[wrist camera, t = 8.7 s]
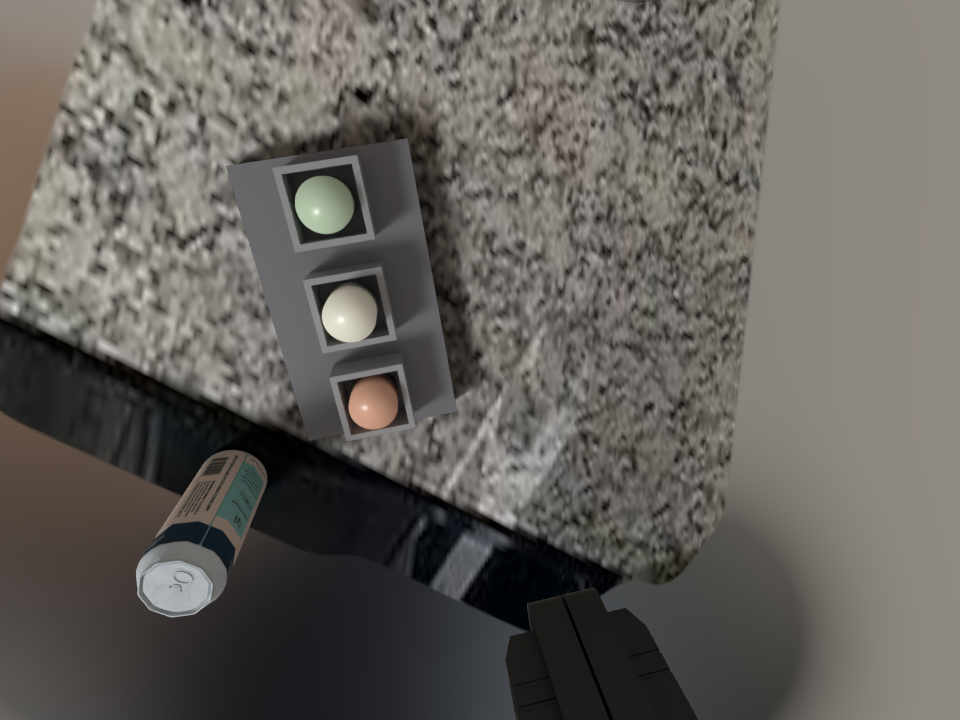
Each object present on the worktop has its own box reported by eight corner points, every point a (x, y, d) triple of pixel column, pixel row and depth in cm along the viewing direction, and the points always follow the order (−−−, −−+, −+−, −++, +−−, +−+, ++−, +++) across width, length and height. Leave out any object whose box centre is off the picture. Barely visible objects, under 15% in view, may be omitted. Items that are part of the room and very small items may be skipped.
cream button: (371, 277, 34) (370, 286, 31) (382, 325, 35) (381, 337, 32) (321, 286, 33) (315, 296, 31) (334, 333, 34) (329, 346, 32)
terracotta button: (392, 366, 37) (392, 380, 34) (401, 406, 38) (402, 423, 35) (347, 375, 36) (343, 390, 34) (357, 415, 38) (354, 433, 35)
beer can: (191, 484, 40) (112, 605, 29) (219, 436, 39) (150, 541, 28) (251, 509, 41) (198, 633, 30) (280, 463, 40) (236, 573, 29)
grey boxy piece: (406, 140, 34) (408, 135, 30) (454, 400, 41) (460, 426, 37) (235, 166, 33) (212, 165, 29) (312, 428, 40) (303, 458, 36)
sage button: (349, 171, 32) (345, 171, 30) (361, 224, 33) (358, 228, 31) (296, 180, 32) (288, 180, 29) (310, 233, 33) (303, 238, 30)
